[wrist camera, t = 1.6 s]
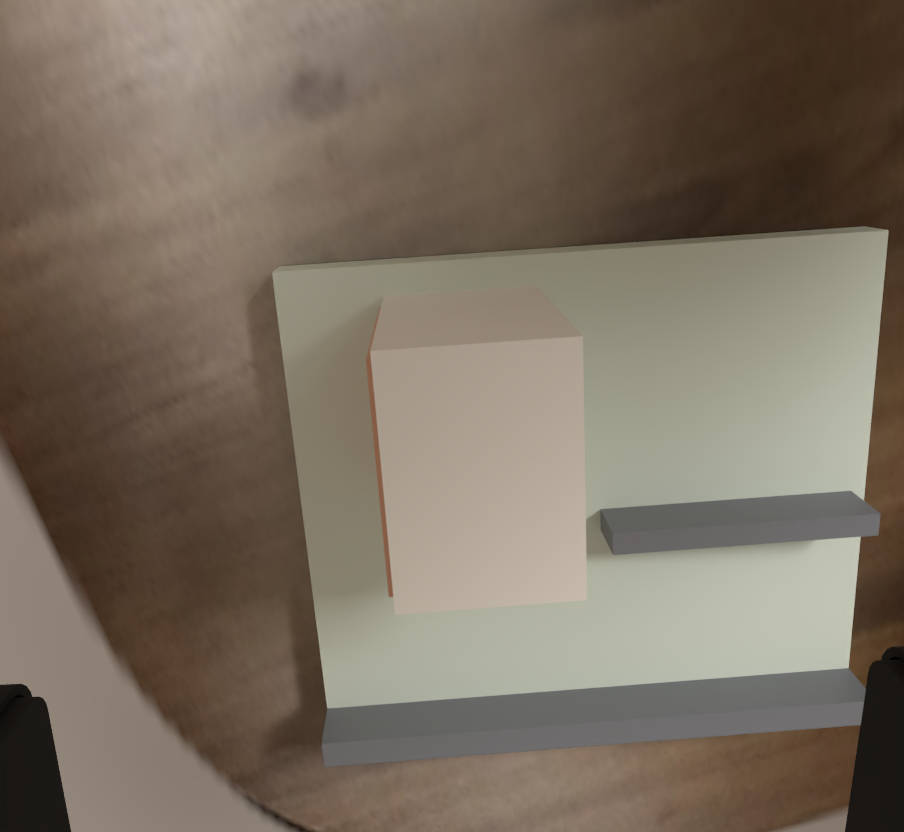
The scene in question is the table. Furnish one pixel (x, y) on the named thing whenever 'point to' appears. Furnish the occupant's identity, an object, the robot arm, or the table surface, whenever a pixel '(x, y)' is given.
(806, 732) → the table surface
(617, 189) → the table surface
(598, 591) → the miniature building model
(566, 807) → the table surface
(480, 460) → the carton
